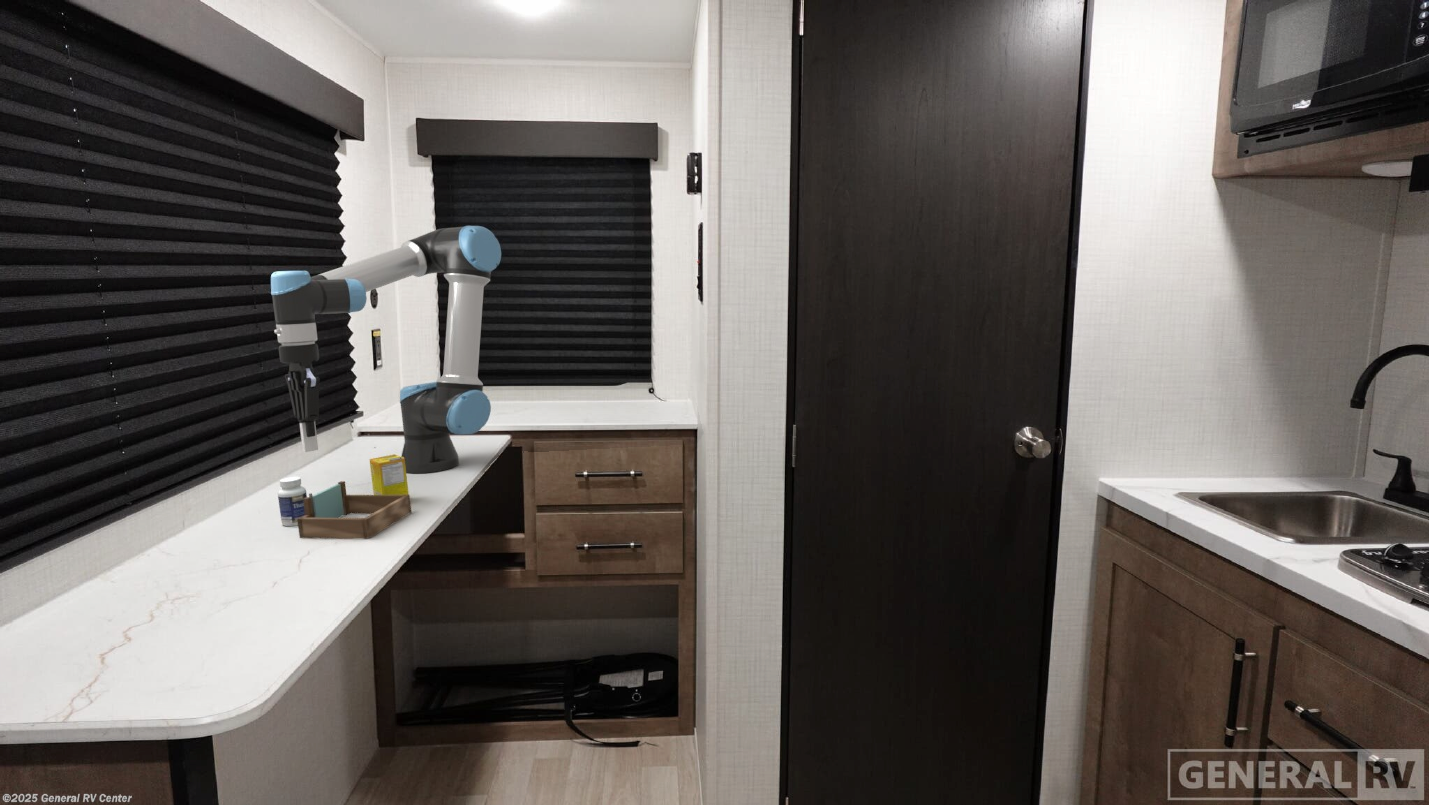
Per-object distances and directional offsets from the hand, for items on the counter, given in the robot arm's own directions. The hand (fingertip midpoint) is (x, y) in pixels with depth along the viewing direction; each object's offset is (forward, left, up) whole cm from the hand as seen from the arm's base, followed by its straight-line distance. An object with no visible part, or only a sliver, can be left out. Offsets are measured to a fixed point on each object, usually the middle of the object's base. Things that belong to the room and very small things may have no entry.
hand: (310, 450), depth 171 cm
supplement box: (-8, +13, -15) cm, 21 cm away
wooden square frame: (+7, +14, -15) cm, 21 cm away
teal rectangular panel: (+6, +7, -14) cm, 17 cm away
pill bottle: (+6, -1, -15) cm, 16 cm away
